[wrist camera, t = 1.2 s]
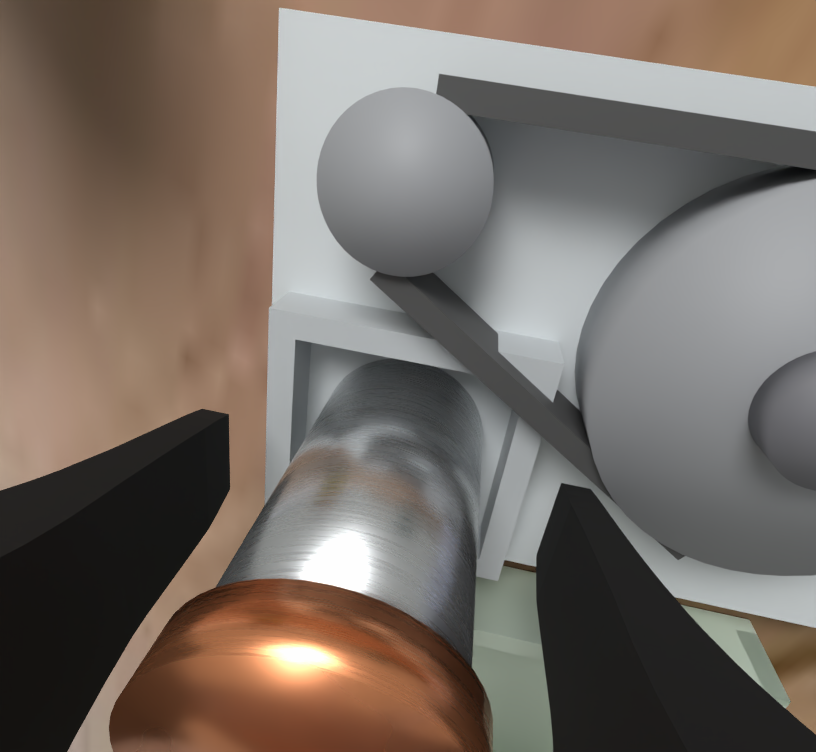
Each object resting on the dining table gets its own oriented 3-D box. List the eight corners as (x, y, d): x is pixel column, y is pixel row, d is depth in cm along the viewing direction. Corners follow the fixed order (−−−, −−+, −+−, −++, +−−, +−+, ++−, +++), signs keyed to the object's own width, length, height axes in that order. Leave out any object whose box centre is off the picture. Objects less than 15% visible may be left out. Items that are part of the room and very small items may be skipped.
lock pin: (514, 367, 12) (539, 721, 5) (474, 519, 14) (452, 922, 7) (320, 329, 12) (83, 612, 5) (309, 483, 14) (129, 834, 7)
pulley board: (1146, 144, 10) (1526, 158, 6) (820, 597, 15) (920, 745, 11) (300, 18, 11) (203, -31, 7) (282, 482, 16) (221, 584, 13)
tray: (749, 619, 16) (790, 701, 14) (644, 782, 20) (662, 866, 18) (384, 539, 17) (367, 604, 14) (356, 712, 21) (340, 783, 19)
